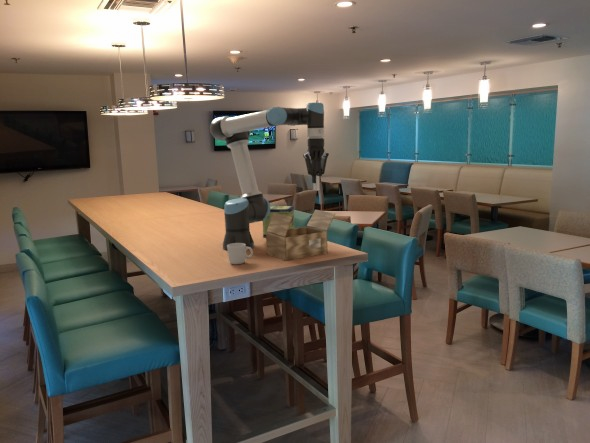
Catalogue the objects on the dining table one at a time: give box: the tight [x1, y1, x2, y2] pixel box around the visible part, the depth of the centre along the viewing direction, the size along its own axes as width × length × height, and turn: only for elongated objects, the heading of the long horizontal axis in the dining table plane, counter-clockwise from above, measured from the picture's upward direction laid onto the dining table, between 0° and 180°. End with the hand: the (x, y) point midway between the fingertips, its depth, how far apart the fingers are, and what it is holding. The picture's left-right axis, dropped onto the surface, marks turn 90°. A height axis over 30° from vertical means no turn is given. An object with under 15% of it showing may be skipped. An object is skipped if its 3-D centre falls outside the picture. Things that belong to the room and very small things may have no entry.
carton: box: [265, 226, 328, 262], centre depth 217 cm, size 22×18×10 cm
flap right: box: [306, 209, 336, 232], centre depth 222 cm, size 1×16×9 cm
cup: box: [226, 243, 254, 265], centre depth 203 cm, size 11×8×8 cm
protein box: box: [262, 205, 295, 238], centre depth 259 cm, size 10×16×16 cm
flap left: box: [267, 213, 292, 237], centre depth 211 cm, size 1×16×9 cm, turn 31°
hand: (316, 190), depth 219 cm, fingers closed
